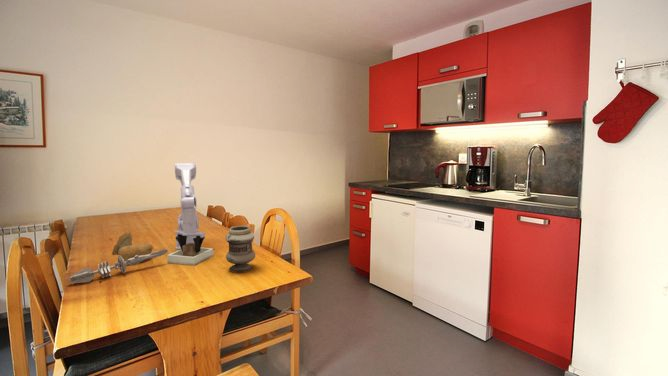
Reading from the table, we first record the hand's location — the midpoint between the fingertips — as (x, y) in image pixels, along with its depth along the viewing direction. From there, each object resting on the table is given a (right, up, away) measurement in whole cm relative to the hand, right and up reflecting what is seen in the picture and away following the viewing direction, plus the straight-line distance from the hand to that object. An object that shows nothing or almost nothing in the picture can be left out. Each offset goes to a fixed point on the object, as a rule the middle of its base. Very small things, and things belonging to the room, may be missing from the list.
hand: (190, 251), depth 151 cm
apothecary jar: (+27, -5, -12) cm, 30 cm away
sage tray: (0, -4, 0) cm, 4 cm away
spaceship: (-20, -6, -17) cm, 27 cm away
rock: (-39, -3, +12) cm, 41 cm away
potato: (-24, -4, -3) cm, 24 cm away
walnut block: (0, -3, +1) cm, 3 cm away
